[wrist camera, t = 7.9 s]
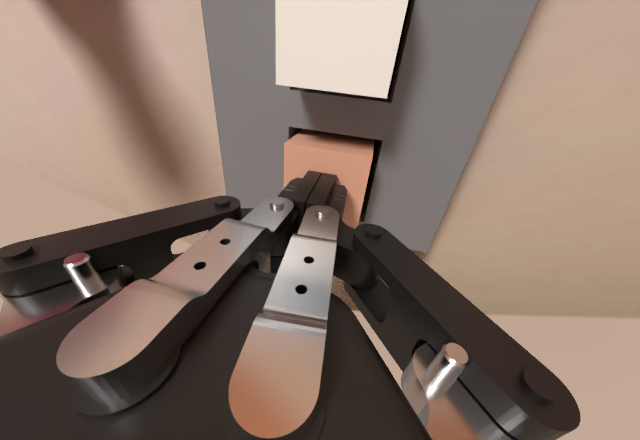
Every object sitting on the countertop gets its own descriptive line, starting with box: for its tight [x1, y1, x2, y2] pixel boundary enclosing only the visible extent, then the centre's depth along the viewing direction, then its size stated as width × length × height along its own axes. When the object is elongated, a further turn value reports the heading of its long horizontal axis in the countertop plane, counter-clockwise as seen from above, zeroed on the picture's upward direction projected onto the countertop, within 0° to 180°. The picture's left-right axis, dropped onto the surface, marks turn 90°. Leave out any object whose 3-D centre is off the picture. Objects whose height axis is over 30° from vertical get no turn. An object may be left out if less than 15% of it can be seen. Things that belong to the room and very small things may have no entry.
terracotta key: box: [284, 129, 374, 229], centre depth 14 cm, size 4×4×4 cm
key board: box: [201, 0, 538, 253], centre depth 12 cm, size 14×22×3 cm, turn 174°
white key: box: [275, 0, 408, 99], centre depth 10 cm, size 4×4×4 cm
